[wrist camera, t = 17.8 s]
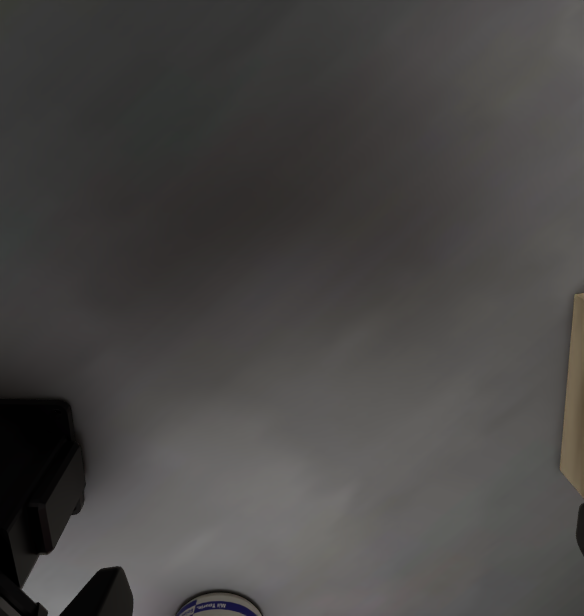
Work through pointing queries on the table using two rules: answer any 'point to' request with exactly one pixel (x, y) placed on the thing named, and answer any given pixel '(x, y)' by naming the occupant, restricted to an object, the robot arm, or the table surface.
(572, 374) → the birch block
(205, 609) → the energy drink
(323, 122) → the table surface
